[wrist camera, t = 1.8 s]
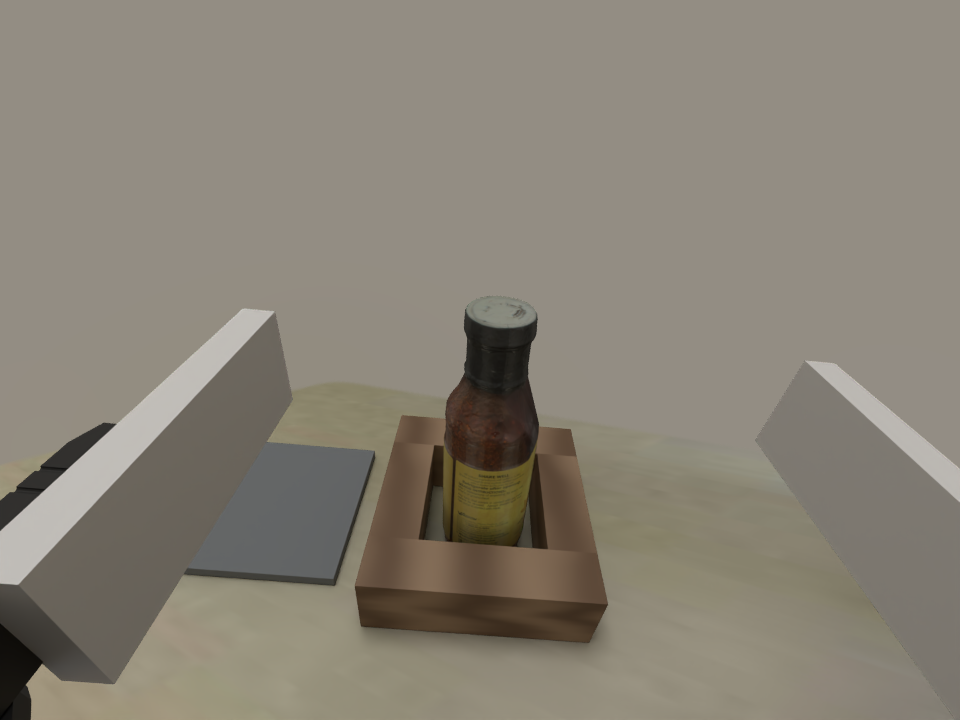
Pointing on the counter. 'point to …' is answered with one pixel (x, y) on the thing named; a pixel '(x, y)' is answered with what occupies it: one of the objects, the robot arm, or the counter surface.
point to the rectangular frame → (481, 552)
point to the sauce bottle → (491, 426)
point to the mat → (288, 516)
